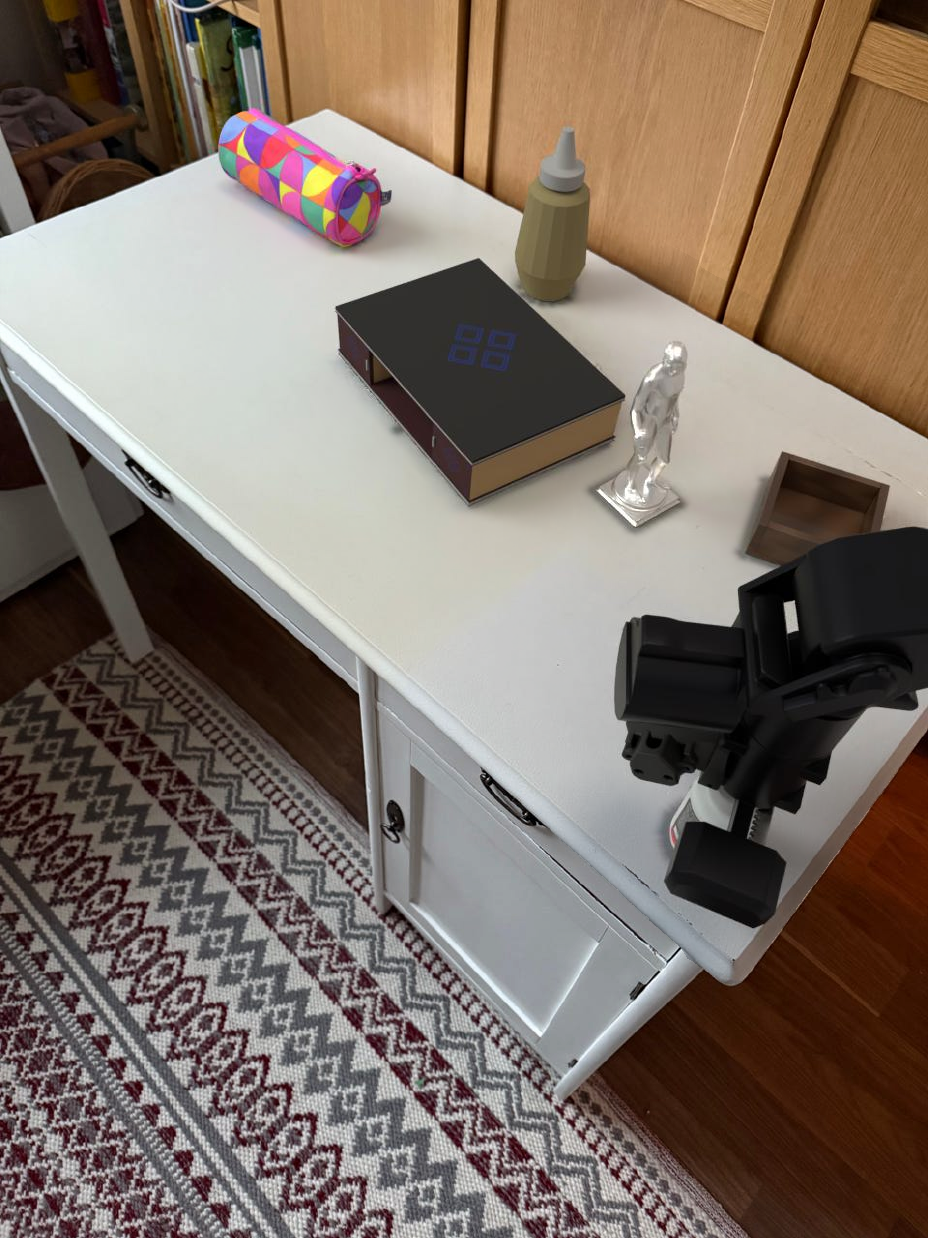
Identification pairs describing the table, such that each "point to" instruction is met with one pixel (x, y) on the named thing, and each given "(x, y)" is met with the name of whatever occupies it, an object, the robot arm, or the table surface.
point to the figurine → (650, 441)
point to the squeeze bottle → (554, 225)
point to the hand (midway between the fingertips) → (715, 823)
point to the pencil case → (301, 177)
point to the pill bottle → (703, 809)
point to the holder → (813, 508)
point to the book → (477, 378)
